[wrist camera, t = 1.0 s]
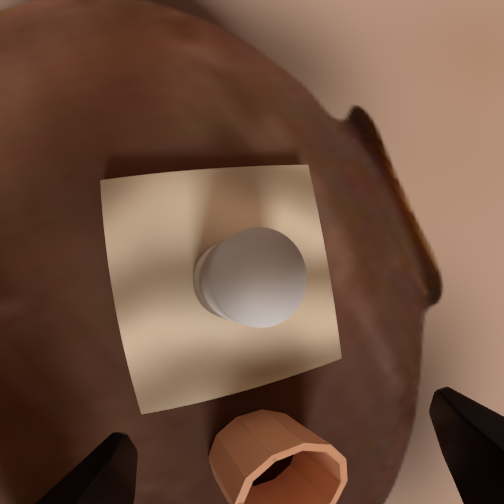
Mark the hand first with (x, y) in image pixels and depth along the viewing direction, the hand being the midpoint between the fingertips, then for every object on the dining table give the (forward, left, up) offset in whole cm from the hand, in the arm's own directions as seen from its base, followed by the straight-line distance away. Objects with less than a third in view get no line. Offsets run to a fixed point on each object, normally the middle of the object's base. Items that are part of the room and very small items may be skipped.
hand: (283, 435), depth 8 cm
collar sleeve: (-9, -3, -13) cm, 16 cm away
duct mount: (+4, -3, -13) cm, 14 cm away
